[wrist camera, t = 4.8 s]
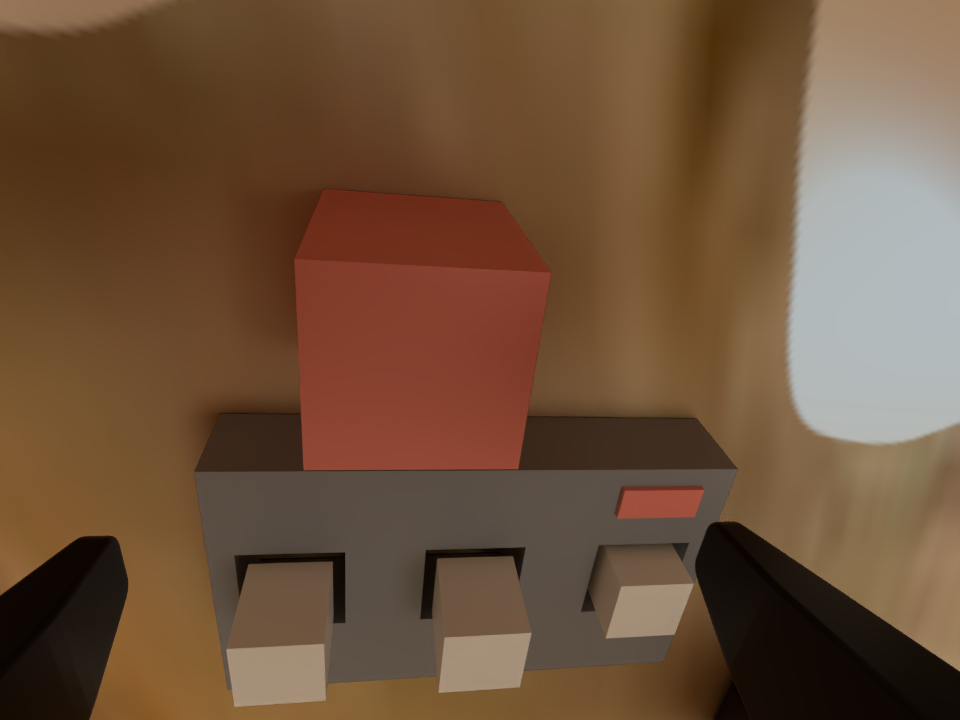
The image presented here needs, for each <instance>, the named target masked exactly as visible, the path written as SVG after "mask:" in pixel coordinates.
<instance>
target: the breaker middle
mask: <svg viewBox="0 0 960 720" xmlns="http://www.w3.org/2000/svg"><path fill="white" fill-rule="evenodd" d="M432 618H433V630H434V643H435V656H436V669H437V682H438V693H444V692H459V691H473V690H488V689H502V688H517V687H520V684H521V679H522V675H523V670H524V666H525V661H526V656H527V652H528V647H529V642H530V638H531V629H530V624H529V620H528V616H527V612H526V608H525V604H524V600H523V596H522V591H521V587H520V583H519V579H518V575H517V571H516V567H515V562H514V558H513V556H500V557H466V558H437V565H436V575H435V586H434V596H433V606H432Z"/></svg>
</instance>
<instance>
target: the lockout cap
mask: <svg viewBox="0 0 960 720" xmlns="http://www.w3.org/2000/svg"><path fill="white" fill-rule="evenodd" d="M294 265H295V288H296V310H297V333H298V355H299V378H300V401H301V423H302V446H303V468H304V470H455V469H518V467H519V461H520V456H521V450H522V444H523V438H524V432H525V426H526V420H527V414H528V408H529V402H530V396H531V390H532V384H533V378H534V372H535V366H536V360H537V354H538V348H539V343H540V337H541V331H542V325H543V319H544V313H545V307H546V301H547V295H548V289H549V283H550V277H551V272H550V270H549V269H548V267H547V266H546V264H545V263H544V262H543V260H542V259H541V257H540V256H539V254H538V253H537V252H536V250H535V249H534V247H533V246H532V244H531V243H530V241H529V240H528V239H527V237H526V236H525V234H524V233H523V231H522V230H521V228H520V227H519V226H518V224H517V223H516V221H515V220H514V218H513V217H512V215H511V214H510V213H509V211H508V210H507V208H506V207H505V205H504V204H503V203H502V202H496V201H482V200H469V199H455V198H441V197H428V196H414V195H400V194H387V193H373V192H360V191H346V190H332V189H323V191H322V194H321V196H320V199H319V201H318V203H317V206H316V208H315V211H314V213H313V215H312V218H311V220H310V223H309V225H308V227H307V230H306V232H305V234H304V237H303V239H302V242H301V244H300V246H299V249H298V251H297V254H296V256H295V258H294Z"/></svg>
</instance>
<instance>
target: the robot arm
mask: <svg viewBox="0 0 960 720" xmlns="http://www.w3.org/2000/svg"><path fill="white" fill-rule="evenodd" d="M695 572H696V576H697V579H698V582H699V585H700V588H701V591H702V594H703V597H704V600H705V603H706V606H707V609H708V612H709V615H710V618H711V621H712V624H713V627H714V630H715V633H716V636H717V638H718V641H719V644H720V647H721V650H722V653H723V656H724V659H725V661H726V664H727V667H728V669H729V672H730V674H731V677H732V679H733V683H732V685H731V687H730V689H729V691H728V693H727V695H726V697H725V699H724V702H723V704H722V706H721V708H720V710H719V712H718V714H717V716H716V718H715V720H960V671H958V670H957V669H955V668H954V667H952V666H951V665H949V664H948V663H946V662H945V661H943V660H942V659H940V658H939V657H937V656H936V655H935V654H933V653H932V652H930V651H929V650H927V649H926V648H924V647H923V646H921V645H920V644H918V643H917V642H915V641H914V640H912V639H911V638H909V637H908V636H906V635H905V634H903V633H902V632H900V631H899V630H897V629H896V628H894V627H893V626H892V625H890V624H889V623H887V622H886V621H884V620H883V619H881V618H880V617H878V616H877V615H875V614H874V613H872V612H871V611H869V610H868V609H866V608H865V607H863V606H862V605H860V604H859V603H857V602H856V601H854V600H853V599H851V598H850V597H849V596H847V595H846V594H844V593H843V592H841V591H840V590H838V589H837V588H835V587H834V586H832V585H831V584H829V583H828V582H826V581H825V580H823V579H822V578H820V577H819V576H817V575H816V574H814V573H813V572H811V571H810V570H808V569H807V568H806V567H804V566H803V565H801V564H800V563H798V562H797V561H795V560H794V559H792V558H791V557H789V556H788V555H786V554H785V553H783V552H782V551H780V550H779V549H777V548H776V547H774V546H773V545H771V544H770V543H768V542H767V541H765V540H764V539H763V538H761V537H760V536H758V535H757V534H755V533H754V532H752V531H751V530H749V529H748V528H746V527H745V526H743V525H742V524H740V523H738V522H733V521H732V522H713V523H711V524H710V525H709V526H708V528H707V530H706V532H705V535H704V538H703V540H702V543H701V546H700V548H699V551H698V554H697V556H696V560H695ZM127 592H128V578H127V573H126V569H125V565H124V561H123V557H122V553H121V549H120V545H119V542H118V540H117V539H116V538H115V537H113V536H84V537H80V538H78V539H76V540H75V541H73V542H72V543H70V544H69V545H68V546H66V547H65V548H64V549H62V550H61V551H60V552H58V553H57V554H56V555H54V556H53V557H51V558H50V559H49V560H47V561H46V562H45V563H43V564H42V565H41V566H39V567H38V568H37V569H35V570H34V571H33V572H31V573H30V574H29V575H27V576H26V577H25V578H23V579H22V580H20V581H19V582H18V583H16V584H15V585H14V586H12V587H11V588H10V589H8V590H7V591H6V592H4V593H3V594H2V595H0V720H89V719H90V716H91V714H92V711H93V707H94V704H95V701H96V698H97V695H98V692H99V688H100V685H101V682H102V678H103V675H104V671H105V668H106V665H107V661H108V658H109V655H110V651H111V648H112V645H113V641H114V638H115V634H116V631H117V628H118V624H119V621H120V618H121V614H122V611H123V608H124V604H125V601H126V597H127Z"/></svg>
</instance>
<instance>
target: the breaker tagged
mask: <svg viewBox="0 0 960 720" xmlns="http://www.w3.org/2000/svg"><path fill="white" fill-rule="evenodd" d="M693 585H694V582H693V581H692V579H691V577H690V575H689V573H688V572H687V570H686V568H685V566H684V565H683V563H682V561H681V559H680V557H679V556H678V554H677V552H676V550H675V548H674V547H673V545H672V543H661V544H625V545H599V546H598V550H597V554H596V557H595V561H594V565H593V568H592V572H591V576H590V580H589V583H588V587H587V589H588V591H589V594H590V597H591V600H592V602H593V605H594V608H595V611H596V613H597V616H598V619H599V622H600V625H601V627H602V630H603V633H604V636H605V638H624V637H642V636H660V635H675V632H676V630H677V627H678V624H679V622H680V619H681V617H682V614H683V611H684V609H685V606H686V604H687V601H688V598H689V596H690V593H691V591H692V588H693Z"/></svg>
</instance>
